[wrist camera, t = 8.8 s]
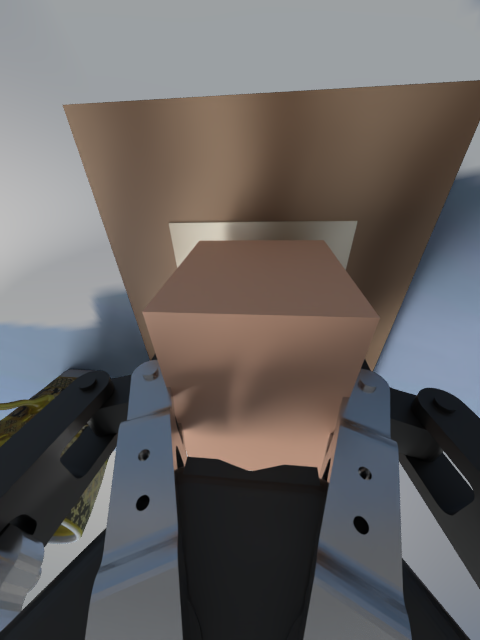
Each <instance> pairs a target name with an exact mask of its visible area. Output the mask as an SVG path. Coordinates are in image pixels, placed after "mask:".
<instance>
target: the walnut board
mask: <svg viewBox="0 0 480 640" xmlns="http://www.w3.org/2000/svg"><path fill="white" fill-rule="evenodd" d="M63 108H64V110H65V113H66V116H67V119H68V122H69V125H70V128H71V131H72V134H73V137H74V140H75V143H76V145H77V148H78V151H79V154H80V157H81V160H82V163H83V166H84V169H85V172H86V175H87V177H88V180H89V183H90V186H91V189H92V192H93V195H94V198H95V201H96V204H97V207H98V210H99V213H100V215H101V218H102V221H103V224H104V227H105V230H106V233H107V236H108V239H109V242H110V244H111V248H112V250H113V253H114V256H115V259H116V262H117V265H118V268H119V271H120V274H121V276H122V280H123V283H124V286H125V288H126V291H127V294H128V297H129V300H130V303H131V306H132V309H133V312H134V315H135V318H136V321H137V323H138V326H139V329H140V332H141V335H142V338H143V341H144V344H145V347H146V350H147V353H148V356H149V359H150V360H152V358H153V356H154V354H155V350H154V347H153V344H152V341H151V338H150V335H149V332H148V328H147V325H146V322H145V319H144V316H143V313H142V312H143V310H144V309H145V308H146V307H147V305H148V304H149V303H150V302H151V300H152V299H153V298H154V297H155V295H156V294H157V293H158V292H159V290H160V289H161V288H162V287H163V285H164V284H165V283H166V282H167V280H168V279H169V278H170V277H171V275H172V274H173V273H174V272H175V270H176V269H177V268H178V267H179V266H180V264H181V263H182V262H183V261H184V259H185V258H186V257H187V256H188V254H189V253H190V252H191V251H192V249H193V248H194V247H195V246H196V244H197V243H198V242H199V241H225V240H324V241H325V242H326V244H327V245H328V246H329V248H330V249H331V251H332V252H333V253H334V255H335V256H336V258H337V259H338V260H339V262H340V263H341V264H342V266H343V267H344V269H345V270H346V271H347V273H348V274H349V276H350V277H351V278H352V280H353V281H354V282H355V284H356V285H357V287H358V288H359V289H360V291H361V292H362V294H363V295H364V296H365V298H366V299H367V300H368V302H369V303H370V305H371V306H372V307H373V309H374V310H375V312H376V313H377V314H378V316H379V317H380V320H379V322H378V325H377V327H376V330H375V333H374V335H373V338H372V341H371V343H370V346H369V348H368V351H367V354H366V356H365V360H366V362H367V364H368V366H369V368H370V370H371V371H372V372H373V370H374V367H375V365H376V363H377V360H378V358H379V356H380V353H381V351H382V349H383V346H384V344H385V342H386V339H387V337H388V335H389V332H390V330H391V328H392V325H393V323H394V321H395V318H396V316H397V313H398V311H399V309H400V306H401V304H402V302H403V299H404V297H405V295H406V292H407V290H408V288H409V285H410V283H411V281H412V278H413V276H414V274H415V271H416V269H417V267H418V264H419V262H420V260H421V257H422V255H423V253H424V250H425V248H426V246H427V243H428V241H429V238H430V236H431V234H432V231H433V229H434V227H435V224H436V222H437V220H438V217H439V215H440V213H441V210H442V208H443V206H444V203H445V201H446V199H447V196H448V194H449V192H450V189H451V187H452V185H453V182H454V180H455V178H456V175H457V173H458V171H459V168H460V166H461V164H462V161H463V159H464V156H465V154H466V152H467V149H468V147H469V145H470V142H471V140H472V138H473V135H474V133H475V131H476V128H477V126H478V123H479V121H480V80H477V81H460V82H443V83H428V84H409V85H392V86H375V87H358V88H342V89H324V90H307V91H291V92H275V93H274V92H273V93H256V94H239V95H223V96H206V97H188V98H171V99H154V100H138V101H120V102H105V103H104V102H103V103H87V104H70V105H63Z"/></svg>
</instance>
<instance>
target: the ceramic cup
mask: <svg viewBox="0 0 480 640" xmlns="http://www.w3.org/2000/svg"><path fill="white" fill-rule="evenodd" d="M91 371H93V370H76V369H69V370H67V371H65V372H63V373H62V374H61V375H60V376H59V377H57V378H56V379H55V380H53V381H52V382H51V383H50V384H48V385H47V386H46V387H45V388H43V389H42V390H41V391H39V392H38V393H37V394H35V395H34V396H33V397H31V398H30V399H29V400H19V401H14V402H10V403H0V410H7V409H12V408H16V407H18V408H17V409H16V410H14V411H13V412H12V413H10V414H9V415H8V416H6V417H5V418H4V419H2V420H1V421H0V447H1V446H2V445H3V444H4V443H5V442H6V441H7V440H9V439H10V438H11V437H12V436H13V435H14V434H15V433H16V432H17V431H19V430H20V429H21V428H22V427H23V426H24V425H25V424H26V423H27V422H29V421H30V420H31V419H32V418H33V417H34V416H35V415H36V414H37V413H39V412H40V411H41V410H42V409H43V408H44V407H45V406H46V405H48V404H49V403H50V402H51V401H52V400H53V399H54V398H55V397H56V396H58V395H59V394H60V393H61V392H62V391H63V390H64V389H65V388H66V387H68V386H69V385H70V384H71V383H72V382H73V381H74V380H75V379H77V378H78V377H80V376H81V375H83V374H86V373H88V372H91ZM87 427H88V424H87V423H86V424H85V425H84V427H83V428H82V429H81V430H80V431H79V432H78V433H77V434H76V436H75V437H74V438H73V439H72V440H71V441H70V442H69V443H68V445H67V446H66V447H65V448H64V450H63V451H62V454H61V456H62V455H63V454H64V453H65V452H66V451H67V450H68V448H69V447H70V446H71V445H72V444H73V443H74V442H75V440H76V439H77V438H78V437H79V436H80V435H81V434H82V432H83V431H84V430H85V429H86V428H87ZM60 458H61V457H60ZM108 459H109V458H108ZM108 459H107V460H106V462H105V463H104V465H103V466H102V467H101V469H100V470H99V472H98V473H97V474H96V476H95V477H94V479H93V480H92V481H91V483H90V484H89V486H88V487H87V488H86V490H85V491H84V493H83V494H82V495H81V497H80V498H79V500H78V501H77V502H76V504H75V505H74V507H73V508H72V509H71V511H70V512H69V514H68V515H67V516H66V518H65V519H64V521H63V522H62V523H61V525H60V526H59V528H58V529H57V530H56V532H55V533H54V535H53V536H52V537H51V539H50V540H49V542H48V543H52V544H66V543H72V542H76V541H78V540H79V539H80V538H81V536H82V534H83V531H84V529H85V526H86V524H87V522H88V519H89V517H90V514H91V511H92V509H93V506H94V503H95V500H96V497H97V495H98V492H99V489H100V486H101V483H102V480H103V476H104V472H105V469H106V465H107V462H108Z"/></svg>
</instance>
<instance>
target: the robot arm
mask: <svg viewBox="0 0 480 640" xmlns="http://www.w3.org/2000/svg"><path fill="white" fill-rule="evenodd" d="M86 423H87V424H88V427H87V428H86V429H85V430H84V431H83V432H82V434H81V435H80V436H79V437H78V438H77V439H76V440H75V442H74V443H73V444H72V445H71V446H70V447H69V448H68V450H67V451H66V452H65V453H64V454H63V455H62V456H61V454H62V451H63V450H64V448H65V447H66V446H67V445H68V443H69V442H70V441H71V440H72V439H73V438H74V437H75V436H76V434H77V433H78V432H79V431H80V430H81V429H82V428H83V427H84V425H85V424H86ZM116 446H117V447H116ZM115 448H116V456H115V464H114V472H113V480H112V488H111V495H110V503H109V512H108V519H107V527H106V529H105V530H104V531H103V532H101V533H100V535H98V536H97V537H96V538H95V539H94V540H93V541H92V542H91V543H90V544H89V545H88V546H87V547H86V548H85V549H84V550H83V551H82V552H81V553H80V554H79V555H78V556H77V557H76V558H75V559H74V560H73V561H72V562H71V563H70V564H69V565H68V566H67V567H66V568H65V569H64V570H63V571H62V572H61V573H60V574H59V575H58V576H57V577H56V578H55V579H54V580H53V581H52V582H51V583H50V584H49V585H48V586H47V587H46V588H44V590H42V591H41V593H39V594H38V595H37V596H36V597H35V598H34V599H33V600H32V601H31V602H30V603H29V604H28V605H27V606H26V607H25V608H24V609H23V610H22V606H23V603H24V600H25V597H26V595H27V593H28V592H29V591H31V590H32V589H33V588H34V586H35V585H36V584H37V582H38V580H39V578H40V576H41V565H42V562H43V557H44V547H45V546H46V544H47V543H48V542H49V540H50V539H51V537H52V536H53V535H54V533H55V532H56V530H57V529H58V528H59V526H60V525H61V523H62V522H63V521H64V519H65V518H66V516H67V515H68V514H69V512H70V511H71V509H72V508H73V507H74V505H75V504H76V502H77V501H78V500H79V498H80V497H81V495H82V494H83V493H84V491H85V490H86V488H87V487H88V486H89V484H90V483H91V481H92V480H93V479H94V477H95V476H96V474H97V473H98V472H99V470H100V469H101V467H102V466H103V465H104V463H105V462H106V460H107V459H108V458H109V456H110V455H111V453H112V452H113V451H114V449H115ZM443 451H444V452H445V453H446V454H447V455H448V457H449V458H450V459H451V460H452V462H453V463H454V464H455V465H456V467H457V468H458V469H459V470H460V472H461V473H462V474H463V475H464V476H465V478H466V479H467V480H468V482H469V483H470V485H471V486H472V488H473V490H472V489H471V487H470V486H469V485H468V484H467V482H466V481H465V480H464V479H463V478H462V476H461V475H460V474H459V473H458V471H457V470H456V469H455V467H454V466H453V465H452V464H451V462H450V461H449V460H448V459H447V457H446V456H445V455H444V454H443ZM60 457H61V458H60ZM399 462H400V463H401V465H402V467H403V468H404V470H405V471H406V473H407V474H408V476H409V478H410V479H411V481H412V482H413V484H414V486H415V487H416V489H417V490H418V492H419V493H420V495H421V497H422V498H423V500H424V501H425V503H426V505H427V506H428V508H429V509H430V511H431V512H432V514H433V516H434V517H435V519H436V520H437V522H438V524H439V525H440V527H441V528H442V530H443V532H444V533H445V535H446V536H447V538H448V539H449V541H450V543H451V544H452V546H453V547H454V549H455V550H456V552H457V554H458V555H459V557H460V558H461V560H462V561H463V563H464V565H465V566H466V568H467V569H468V571H469V573H470V574H471V576H472V578H473V579H474V581H475V582H476V584H477V585H478V587H479V589H480V418H479V417H478V416H477V415H476V414H475V413H474V412H473V411H472V410H471V409H469V408H468V407H467V406H466V405H465V404H464V403H463V402H462V401H461V400H460V399H458V398H457V397H455V396H454V395H452V394H450V393H448V392H446V391H443V390H440V389H436V388H425V389H422V390H421V391H419V393H418V395H417V396H416V395H413V394H409V393H406V392H402V391H399V390H396V389H393V388H390V387H389V385H388V383H387V382H386V381H385V379H383V378H382V377H381V376H380V375H378V374H377V373H375V372H372V371H371V370H370V368H369V366H368V364H367V362H366V360H365V359H364V362H363V364H362V367H361V369H360V372H359V375H358V377H357V380H356V382H355V385H354V388H353V390H352V393H351V396H350V397H343V398H342V401H341V404H340V407H339V412H338V417H337V422H336V427H335V431H334V434H332V433H330V435H329V438H328V441H327V445H326V450H325V455H324V459H323V463H322V467H321V471H320V474H319V475H318V469H317V467H309V466H296V465H279V466H274V467H270V468H265V469H260V470H255V471H248V470H245V469H243V468H240V467H237V466H235V465H232V464H230V463H227V462H224V461H222V460H219V459H211V458H199V457H187V455H186V448H185V440H184V431H183V427H182V424H181V423H177V420H176V416H175V410H174V399H173V394H172V391H171V387H166V385H165V382H164V379H163V376H162V372H161V369H160V366H159V363H158V360H157V357H156V354H154V356H153V358H152V360H150V361H147V362H145V363H143V364H141V365H139V366H138V367H137V368H136V369H135V370H134V371H133V373H132V375H128V376H124V377H119V378H114V379H110V377H109V375H108V373H106V372H104V371H91V372H88V373H86V374H83V375H81V376H80V377H78V378H77V379H75V380H74V381H73V382H72V383H71V384H70V385H69V386H68V387H66V388H65V389H64V390H63V391H62V392H61V393H60V394H59V395H58V396H56V397H55V398H54V399H53V400H52V401H51V402H50V403H49V404H48V405H46V406H45V407H44V408H43V409H42V410H41V411H40V412H39V413H37V414H36V415H35V416H34V417H33V418H32V419H31V420H30V421H29V422H27V423H26V424H25V425H24V426H23V427H22V428H21V429H20V430H19V431H17V432H16V433H15V434H14V435H13V436H12V437H11V438H10V439H9V440H7V441H6V442H5V443H4V444H3V445H2V446H1V447H0V640H470V639H469V637H468V636H467V635H466V634H465V633H464V631H463V630H462V629H461V628H460V627H459V625H458V624H457V623H456V622H455V621H454V619H453V618H452V617H451V616H450V615H449V613H448V612H447V611H446V610H445V609H444V607H443V606H442V605H441V604H440V603H439V602H438V600H437V599H436V598H435V597H434V596H433V594H432V593H431V592H430V591H429V590H428V588H427V587H426V586H425V585H424V584H423V582H422V581H421V580H420V579H419V578H418V577H417V575H416V574H415V573H414V572H413V570H412V569H411V568H410V567H409V566H408V564H407V563H406V562H405V561H404V560H403V558H402V549H401V519H400V518H401V517H400V487H399V486H400V485H399ZM21 610H22V611H21Z"/></svg>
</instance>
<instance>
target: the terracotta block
mask: <svg viewBox="0 0 480 640" xmlns="http://www.w3.org/2000/svg"><path fill="white" fill-rule="evenodd" d="M142 313H143V316H144V319H145V322H146V325H147V328H148V332H149V335H150V338H151V341H152V344H153V347H154V350H155V354H156V357H157V360H158V363H159V366H160V369H161V372H162V376H163V379H164V382H165V385H166V387H171V391H172V394H173V399H174V410H175V416H176V420H177V423H181V424H182V427H183V431H184V440H185V448H186V451H187V454H188V457H199V458H211V459H219V460H222V461H224V462H227V463H230V464H232V465H235V466H237V467H240V468H243V469H245V470H251V471H255V470H260V469H265V468H270V467H274V466H279V465H296V466H309V467H317V469H318V475H319V474H320V471H321V467H322V463H323V459H324V455H325V450H326V445H327V441H328V438H329V435H330V433H332V434H334V431H335V427H336V422H337V417H338V412H339V407H340V404H341V401H342V398H343V397H350V396H351V393H352V390H353V388H354V385H355V382H356V380H357V377H358V375H359V372H360V369H361V367H362V364H363V362H364V359H365V356H366V354H367V351H368V348H369V346H370V343H371V341H372V338H373V335H374V333H375V330H376V327H377V325H378V322H379V320H380V317H379V316H378V314H377V313H376V312H375V310H374V309H373V307H372V306H371V305H370V303H369V302H368V300H367V299H366V298H365V296H364V295H363V294H362V292H361V291H360V289H359V288H358V287H357V285H356V284H355V282H354V281H353V280H352V278H351V277H350V276H349V274H348V273H347V271H346V270H345V269H344V267H343V266H342V264H341V263H340V262H339V260H338V259H337V258H336V256H335V255H334V253H333V252H332V251H331V249H330V248H329V246H328V245H327V244H326V242H325V241H324V240H225V241H199V242H198V243H197V244H196V246H195V247H194V248H193V249H192V251H191V252H190V253H189V254H188V256H187V257H186V258H185V259H184V261H183V262H182V263H181V264H180V266H179V267H178V268H177V269H176V270H175V272H174V273H173V274H172V275H171V277H170V278H169V279H168V280H167V282H166V283H165V284H164V285H163V287H162V288H161V289H160V290H159V292H158V293H157V294H156V295H155V297H154V298H153V299H152V300H151V302H150V303H149V304H148V305H147V307H146V308H145V309H144V310H143V312H142Z"/></svg>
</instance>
